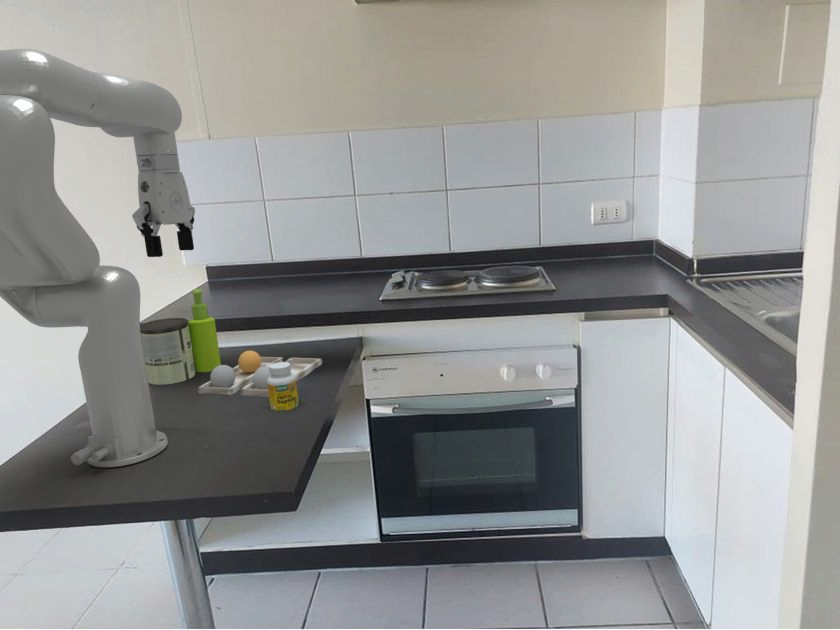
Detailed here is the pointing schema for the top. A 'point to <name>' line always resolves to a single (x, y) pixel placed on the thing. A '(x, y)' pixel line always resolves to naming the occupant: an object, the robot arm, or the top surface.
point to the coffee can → (167, 351)
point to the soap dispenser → (203, 336)
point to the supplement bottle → (282, 387)
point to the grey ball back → (222, 376)
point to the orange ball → (249, 361)
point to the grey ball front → (261, 377)
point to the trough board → (242, 379)
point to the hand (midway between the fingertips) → (171, 253)
